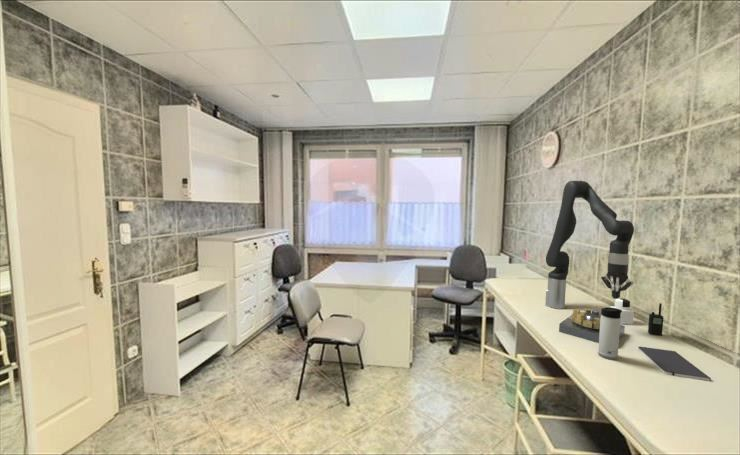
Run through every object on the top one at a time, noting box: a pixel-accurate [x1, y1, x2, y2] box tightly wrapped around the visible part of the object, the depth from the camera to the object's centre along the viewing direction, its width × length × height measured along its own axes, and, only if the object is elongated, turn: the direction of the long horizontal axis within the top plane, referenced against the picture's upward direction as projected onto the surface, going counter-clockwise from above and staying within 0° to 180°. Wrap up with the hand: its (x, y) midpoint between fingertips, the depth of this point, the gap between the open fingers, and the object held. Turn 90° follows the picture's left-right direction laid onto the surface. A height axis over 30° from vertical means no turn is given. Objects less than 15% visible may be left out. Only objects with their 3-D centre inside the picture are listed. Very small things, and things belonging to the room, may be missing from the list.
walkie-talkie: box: [647, 303, 664, 337], centre depth 146 cm, size 5×3×15 cm
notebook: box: [637, 346, 712, 382], centre depth 120 cm, size 13×2×21 cm
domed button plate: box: [558, 312, 626, 344], centre depth 147 cm, size 21×21×8 cm
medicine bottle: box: [609, 297, 635, 325], centre depth 162 cm, size 7×7×12 cm
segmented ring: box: [571, 305, 605, 329], centre depth 150 cm, size 16×24×4 cm
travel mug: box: [597, 306, 622, 361], centre depth 124 cm, size 6×7×20 cm
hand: (615, 298), depth 148 cm, fingers closed
